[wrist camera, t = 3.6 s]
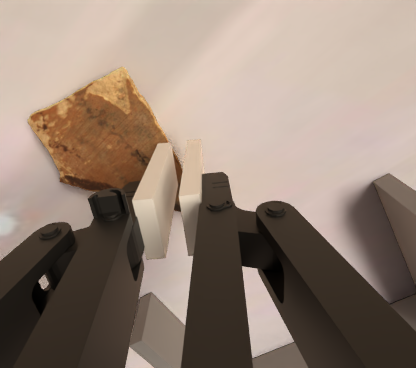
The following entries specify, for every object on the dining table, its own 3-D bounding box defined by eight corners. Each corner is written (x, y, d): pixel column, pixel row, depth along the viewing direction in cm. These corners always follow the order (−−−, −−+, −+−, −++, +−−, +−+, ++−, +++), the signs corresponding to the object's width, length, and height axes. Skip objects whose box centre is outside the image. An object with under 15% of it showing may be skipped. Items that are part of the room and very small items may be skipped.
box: (140, 297, 25) (128, 346, 21) (389, 173, 20) (436, 205, 16) (224, 377, 31) (227, 428, 26) (434, 295, 26) (478, 342, 22)
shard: (210, 209, 20) (211, 222, 19) (121, 245, 22) (114, 261, 20) (131, 62, 16) (123, 63, 15) (27, 118, 18) (9, 125, 16)
